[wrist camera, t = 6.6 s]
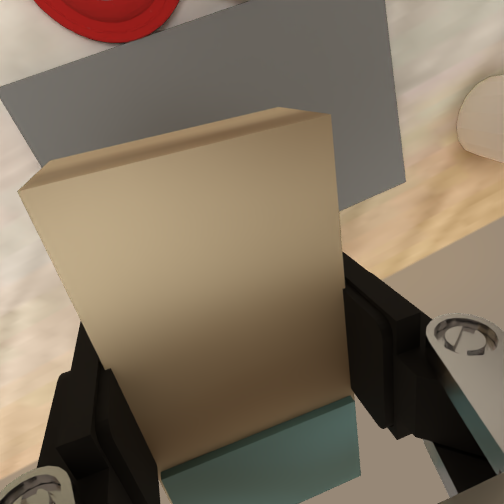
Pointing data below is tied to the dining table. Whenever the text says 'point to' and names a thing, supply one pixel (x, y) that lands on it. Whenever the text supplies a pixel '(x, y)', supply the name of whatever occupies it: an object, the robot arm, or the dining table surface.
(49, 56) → the dining table surface
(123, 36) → the tracker holder
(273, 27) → the rubber mat
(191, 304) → the birch tile
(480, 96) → the white cylinder
